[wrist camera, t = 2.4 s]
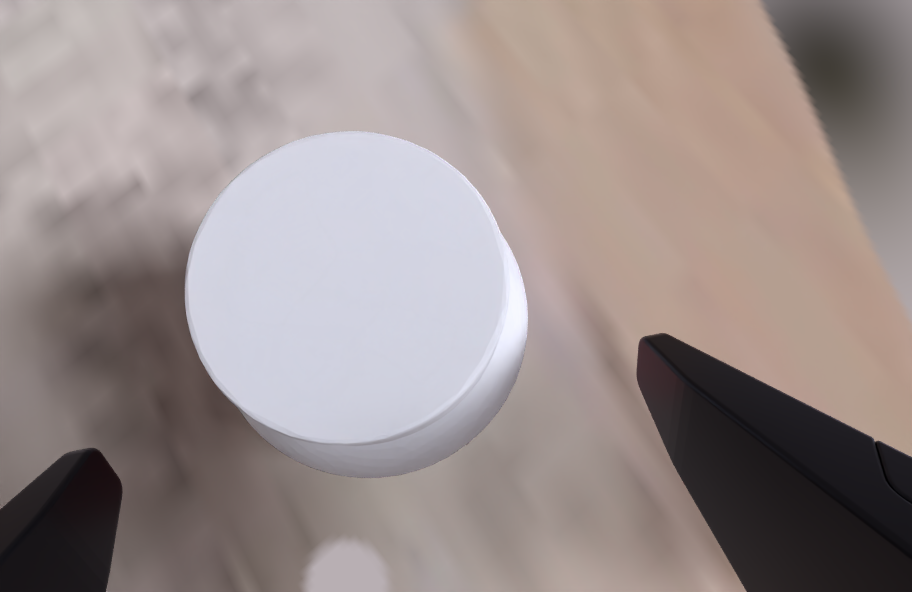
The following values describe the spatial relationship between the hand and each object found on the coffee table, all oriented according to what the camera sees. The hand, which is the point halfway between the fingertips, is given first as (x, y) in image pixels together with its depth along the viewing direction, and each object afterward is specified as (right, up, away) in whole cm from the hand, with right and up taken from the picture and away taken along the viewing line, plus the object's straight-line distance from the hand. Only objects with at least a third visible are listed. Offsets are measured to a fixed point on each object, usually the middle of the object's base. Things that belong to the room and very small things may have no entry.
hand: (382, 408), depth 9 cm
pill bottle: (-1, 0, +10) cm, 10 cm away
